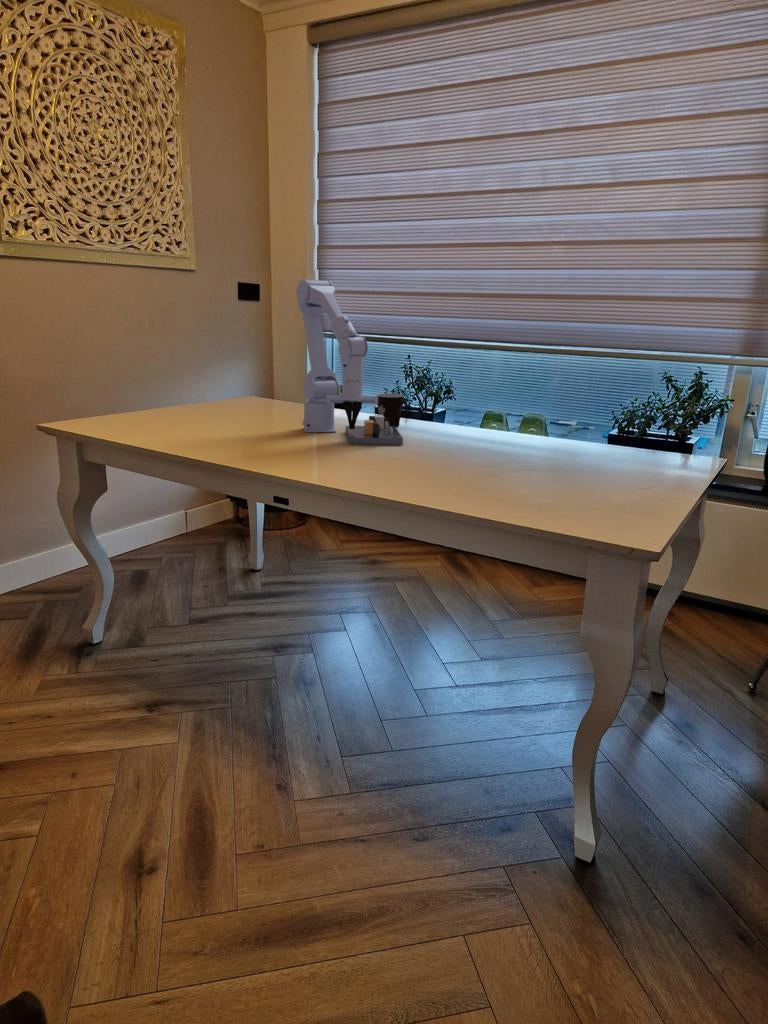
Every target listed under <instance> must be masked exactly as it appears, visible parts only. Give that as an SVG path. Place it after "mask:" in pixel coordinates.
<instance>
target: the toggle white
mask: <svg viewBox="0 0 768 1024" xmlns="http://www.w3.org/2000/svg"><path fill="white" fill-rule="evenodd" d="M374 416H376V423H380V429H384V416H383V415H378V414H374Z"/></svg>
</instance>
